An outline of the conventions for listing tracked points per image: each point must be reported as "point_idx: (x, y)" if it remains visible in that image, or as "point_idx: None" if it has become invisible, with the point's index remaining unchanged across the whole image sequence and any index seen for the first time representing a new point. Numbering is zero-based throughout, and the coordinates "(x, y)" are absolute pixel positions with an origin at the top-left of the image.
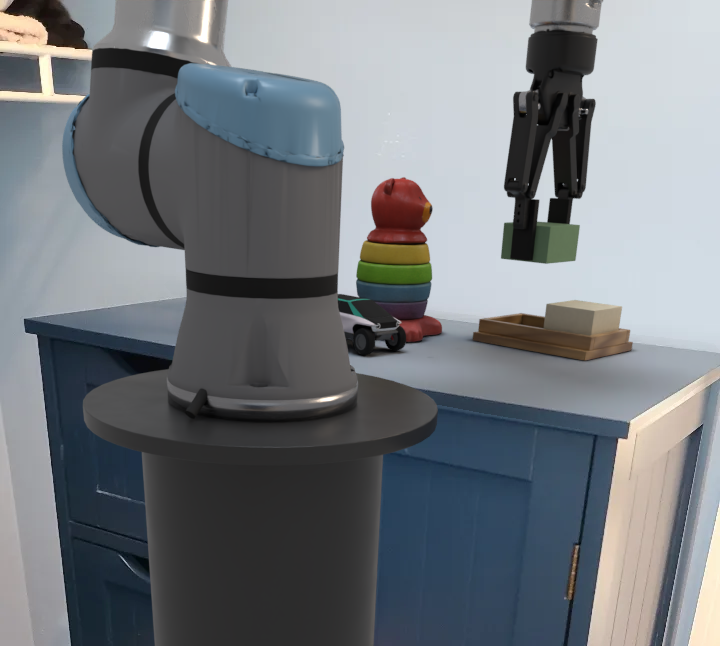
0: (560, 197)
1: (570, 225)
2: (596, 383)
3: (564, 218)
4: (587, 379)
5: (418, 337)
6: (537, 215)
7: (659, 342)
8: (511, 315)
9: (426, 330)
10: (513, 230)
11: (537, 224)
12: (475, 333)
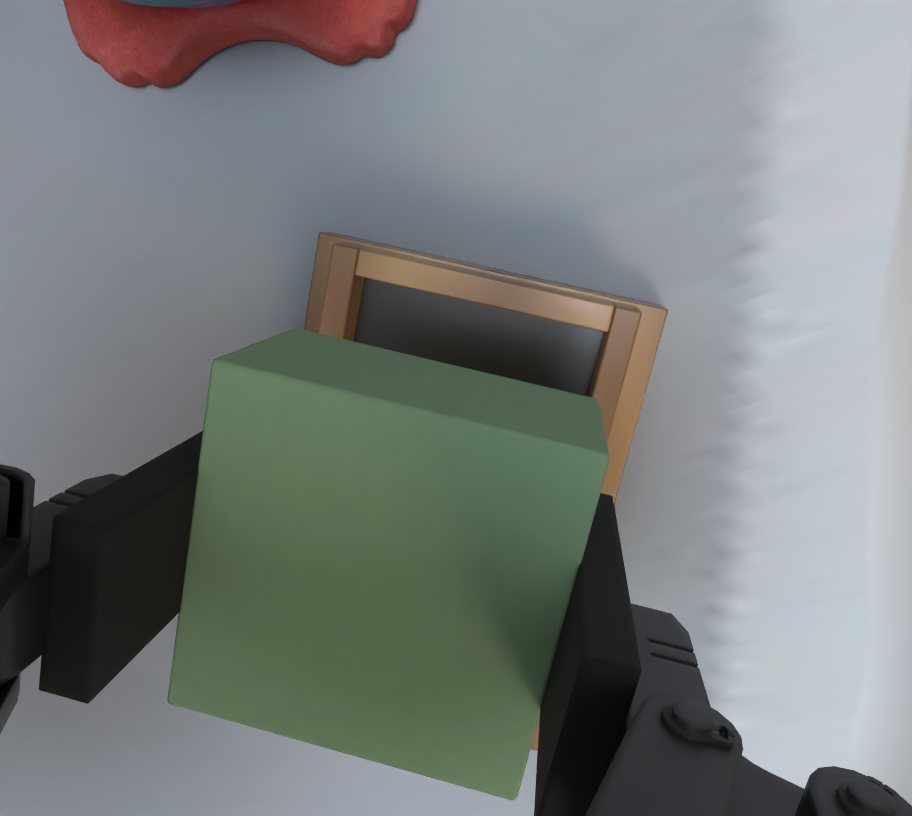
0: (615, 744)
1: (401, 767)
2: (3, 749)
3: (544, 712)
4: (29, 721)
5: (134, 84)
6: (147, 641)
7: (797, 781)
8: (529, 310)
9: (269, 35)
10: (177, 449)
11: (262, 590)
12: (317, 244)
